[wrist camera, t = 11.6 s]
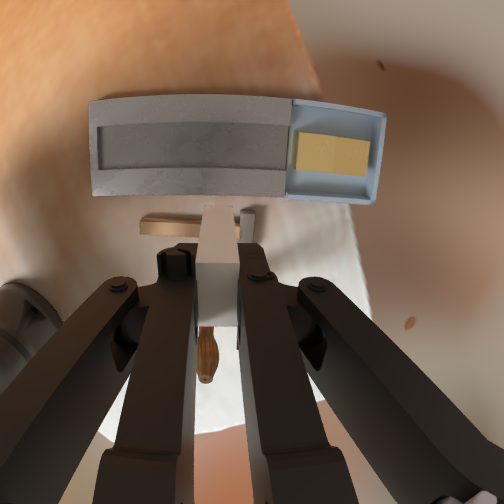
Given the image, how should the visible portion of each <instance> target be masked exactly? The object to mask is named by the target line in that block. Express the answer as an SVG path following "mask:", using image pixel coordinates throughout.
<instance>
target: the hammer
mask: <svg viewBox="0 0 504 504" xmlns="http://www.w3.org/2000/svg"><path fill="white" fill-rule="evenodd" d="M201 222H202V220H188V219H167V218H145V217H142V219H141V220H140V234H144V235H163V236H182V237H199V235H200V229H201ZM254 222H255V212H254V211H252V210H240V221H239V222H235V230H236V238H237V240H238V243H252V240H253V231H254Z"/></svg>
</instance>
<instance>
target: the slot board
mask: <svg viewBox="0 0 504 504" xmlns="http://www.w3.org/2000/svg"><path fill="white" fill-rule="evenodd" d="M291 108H292V99H289V98H278V97H266V96H250V95H226V94H175V95H152V96H137V97H124V98H114V99H105V100H96V101H89V151H90V170H91V184H92V196H117V195H233V196H265V197H284V194H285V183H286V170H285V166H286V154H287V141H288V128H289V126H290V121H291Z"/></svg>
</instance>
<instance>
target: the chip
mask: <svg viewBox="0 0 504 504" xmlns="http://www.w3.org/2000/svg"><path fill="white" fill-rule="evenodd" d="M333 136H336V145H335V154H334V163H333V171H332V173H334V174H344V175H353V176H362V177H366V170H367V163H368V155H369V148H370V141H366V140H362V139H358V138H351V137H344V136H337V135H333Z"/></svg>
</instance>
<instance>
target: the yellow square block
mask: <svg viewBox="0 0 504 504" xmlns="http://www.w3.org/2000/svg"><path fill="white" fill-rule="evenodd" d="M335 145H336V136H333V135H329V134H322V133H314V132H304V131H294V130H293V139H292V150H291V162H290V165H291V166H292V167H293V168H294V169H295V170H301V171H314V172H325V173H332V171H333V163H334V154H335Z"/></svg>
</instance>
